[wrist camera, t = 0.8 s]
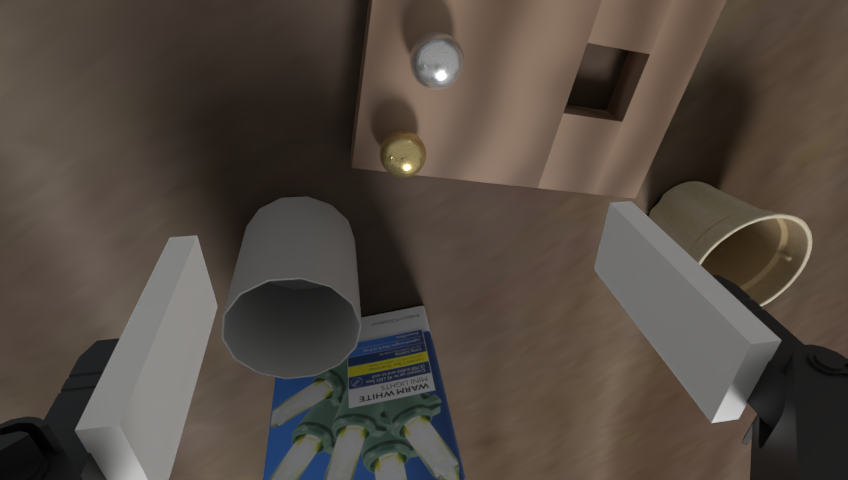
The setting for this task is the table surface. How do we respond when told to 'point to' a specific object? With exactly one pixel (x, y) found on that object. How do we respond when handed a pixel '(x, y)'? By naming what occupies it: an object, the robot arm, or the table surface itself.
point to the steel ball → (437, 61)
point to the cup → (294, 291)
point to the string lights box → (368, 411)
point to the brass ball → (403, 154)
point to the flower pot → (735, 238)
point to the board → (530, 88)
